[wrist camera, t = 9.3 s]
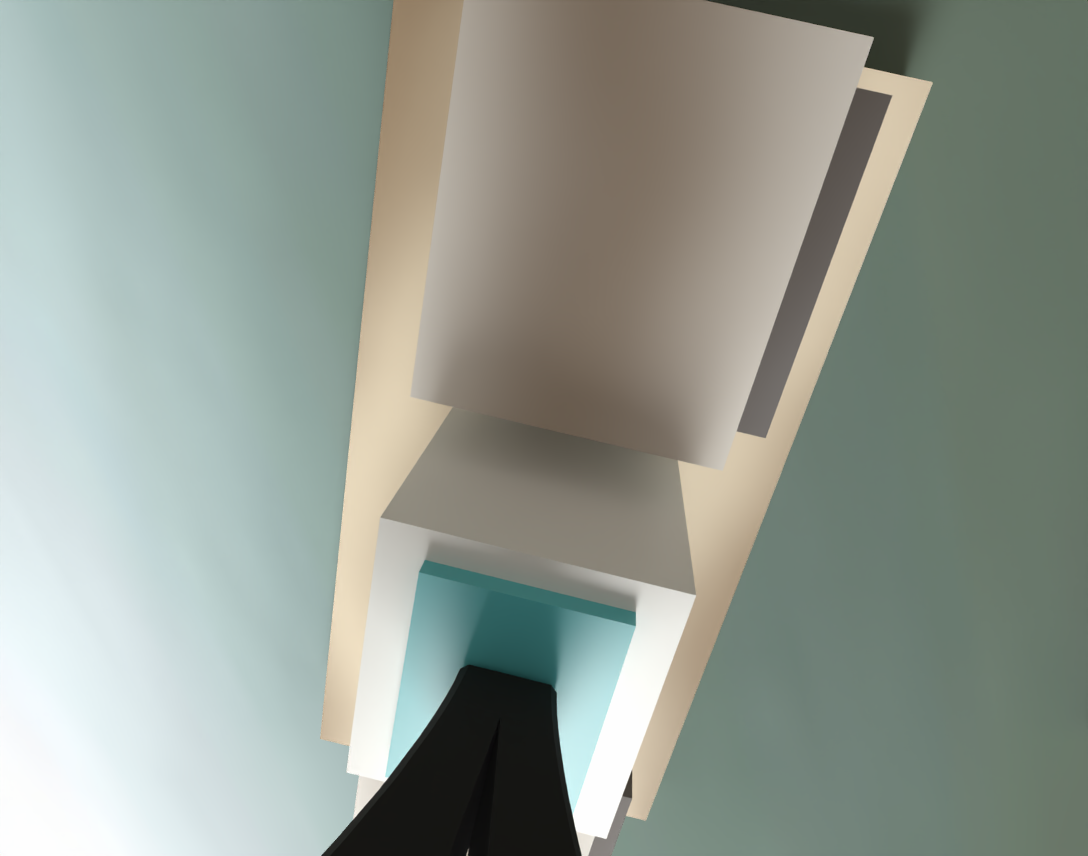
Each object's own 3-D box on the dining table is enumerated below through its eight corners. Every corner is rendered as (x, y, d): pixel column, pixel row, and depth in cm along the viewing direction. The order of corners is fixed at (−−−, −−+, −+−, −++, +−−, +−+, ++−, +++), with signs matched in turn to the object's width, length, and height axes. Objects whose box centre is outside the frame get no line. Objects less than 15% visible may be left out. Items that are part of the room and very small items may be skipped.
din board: (903, 87, 14) (1094, 54, 8) (644, 777, 22) (649, 1006, 16) (419, -20, 14) (274, -125, 8) (339, 701, 22) (237, 899, 16)
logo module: (672, 424, 15) (698, 608, 9) (615, 609, 17) (605, 856, 11) (473, 376, 15) (372, 528, 9) (438, 565, 17) (338, 788, 11)
